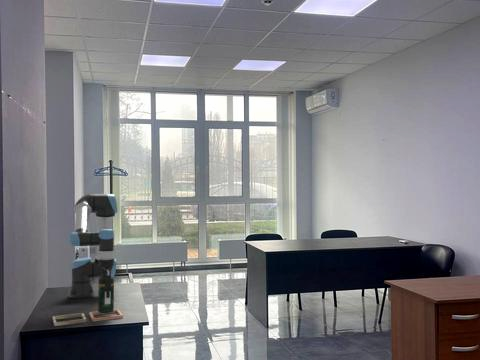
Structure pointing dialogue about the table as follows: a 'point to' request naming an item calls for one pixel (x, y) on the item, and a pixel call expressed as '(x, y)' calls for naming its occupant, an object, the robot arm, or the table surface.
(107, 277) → the robot arm
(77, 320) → the frame
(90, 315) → the frame
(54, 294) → the table surface
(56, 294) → the table surface
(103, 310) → the coffee jar
